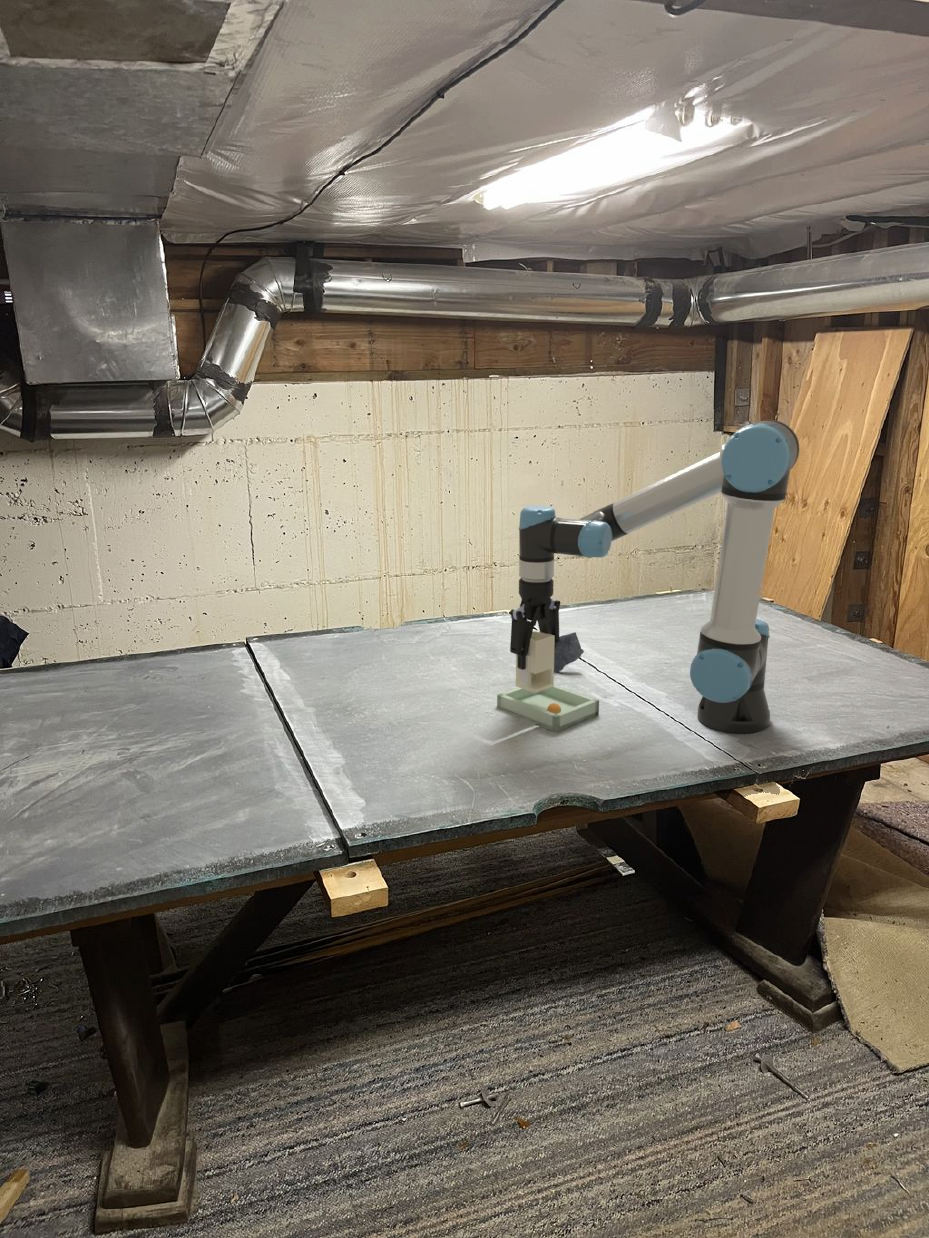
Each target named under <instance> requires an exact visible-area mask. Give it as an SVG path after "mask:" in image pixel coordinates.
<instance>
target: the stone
mask: <svg viewBox="0 0 929 1238" xmlns="http://www.w3.org/2000/svg"><path fill="white" fill-rule="evenodd" d="M555 644H557V646H556V648H554V673H555V674H559V673H560V672H561V671H563V670H564V668H565V667H566V666H567V665H569V664H572V663H573V662H575V661H577V660H578V659H581V657H582V655H583V653H585V651H584V649H583V648H582V645H581V643H580V640H579V637H578V635H577V632H571V633H567V634H563V635H559V642H558V643H555Z"/></svg>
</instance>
